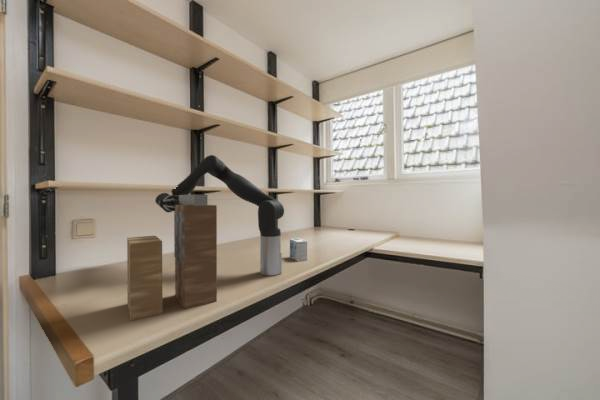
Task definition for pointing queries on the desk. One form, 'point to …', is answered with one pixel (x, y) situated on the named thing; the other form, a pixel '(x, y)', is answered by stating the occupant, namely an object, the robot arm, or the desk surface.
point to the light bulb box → (298, 249)
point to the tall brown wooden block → (195, 254)
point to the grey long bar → (193, 200)
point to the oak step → (144, 276)
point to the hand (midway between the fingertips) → (181, 203)
